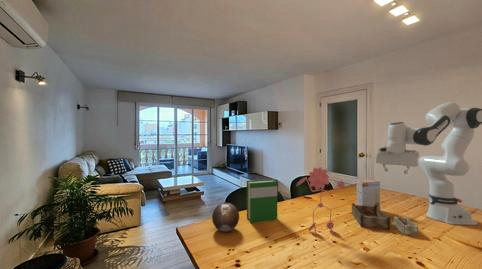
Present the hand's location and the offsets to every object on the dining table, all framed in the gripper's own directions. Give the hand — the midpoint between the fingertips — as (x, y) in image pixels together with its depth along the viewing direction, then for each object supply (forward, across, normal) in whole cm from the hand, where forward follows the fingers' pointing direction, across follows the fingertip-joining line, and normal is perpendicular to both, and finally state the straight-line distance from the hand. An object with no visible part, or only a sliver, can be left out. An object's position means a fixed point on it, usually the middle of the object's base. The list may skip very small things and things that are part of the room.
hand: (395, 172), depth 124 cm
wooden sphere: (+33, +65, +77) cm, 106 cm away
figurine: (+32, +28, +40) cm, 58 cm away
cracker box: (+30, +17, -12) cm, 37 cm away
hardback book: (+32, +60, +51) cm, 85 cm away
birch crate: (+30, -6, +7) cm, 32 cm away
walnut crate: (+31, +12, +7) cm, 33 cm away
